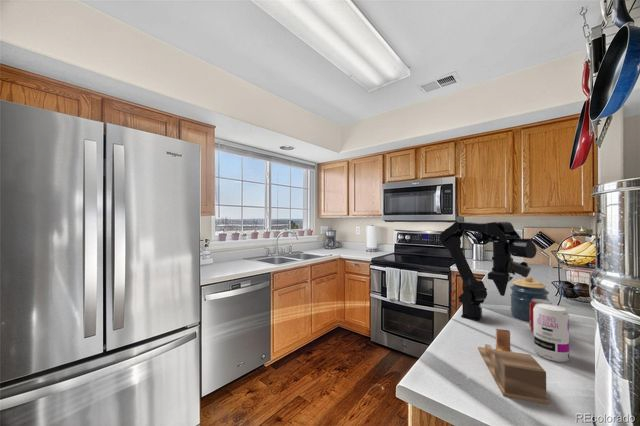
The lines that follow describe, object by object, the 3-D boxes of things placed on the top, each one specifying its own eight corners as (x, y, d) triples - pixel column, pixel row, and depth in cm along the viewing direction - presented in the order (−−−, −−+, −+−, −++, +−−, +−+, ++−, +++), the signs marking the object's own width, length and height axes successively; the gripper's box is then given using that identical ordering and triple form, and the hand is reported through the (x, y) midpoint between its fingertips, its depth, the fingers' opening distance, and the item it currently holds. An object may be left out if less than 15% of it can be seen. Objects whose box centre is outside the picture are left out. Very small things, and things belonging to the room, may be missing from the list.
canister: (531, 311, 117) (530, 272, 117) (558, 323, 104) (557, 279, 104) (503, 311, 117) (502, 272, 117) (527, 323, 104) (526, 279, 104)
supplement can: (562, 352, 82) (561, 304, 82) (574, 365, 74) (573, 313, 74) (530, 346, 85) (529, 301, 85) (539, 359, 78) (538, 309, 78)
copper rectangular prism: (496, 359, 75) (495, 328, 76) (509, 361, 74) (508, 330, 75) (513, 387, 63) (513, 350, 63) (529, 390, 62) (529, 352, 62)
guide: (477, 349, 84) (477, 326, 84) (510, 353, 81) (510, 330, 81) (503, 395, 62) (502, 365, 62) (549, 404, 59) (548, 372, 59)
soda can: (560, 339, 91) (559, 304, 91) (537, 337, 92) (536, 303, 92) (546, 330, 97) (546, 298, 98) (525, 328, 99) (525, 297, 99)
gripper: (526, 259, 86) (526, 306, 86) (531, 254, 100) (532, 294, 99) (487, 256, 94) (487, 299, 94) (497, 251, 107) (497, 289, 107)
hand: (502, 295), depth 98 cm, fingers closed
